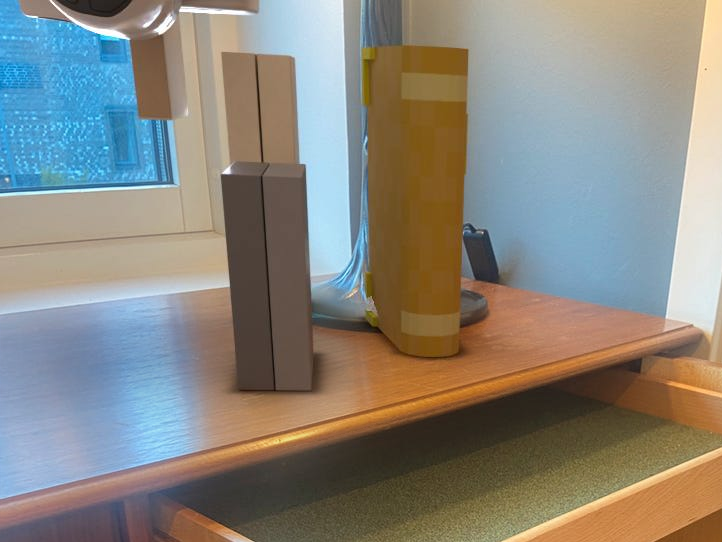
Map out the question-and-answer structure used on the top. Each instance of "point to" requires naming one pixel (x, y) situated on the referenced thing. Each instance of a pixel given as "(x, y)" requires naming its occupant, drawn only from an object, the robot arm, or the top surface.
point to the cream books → (261, 107)
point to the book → (416, 193)
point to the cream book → (160, 75)
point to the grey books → (269, 274)
